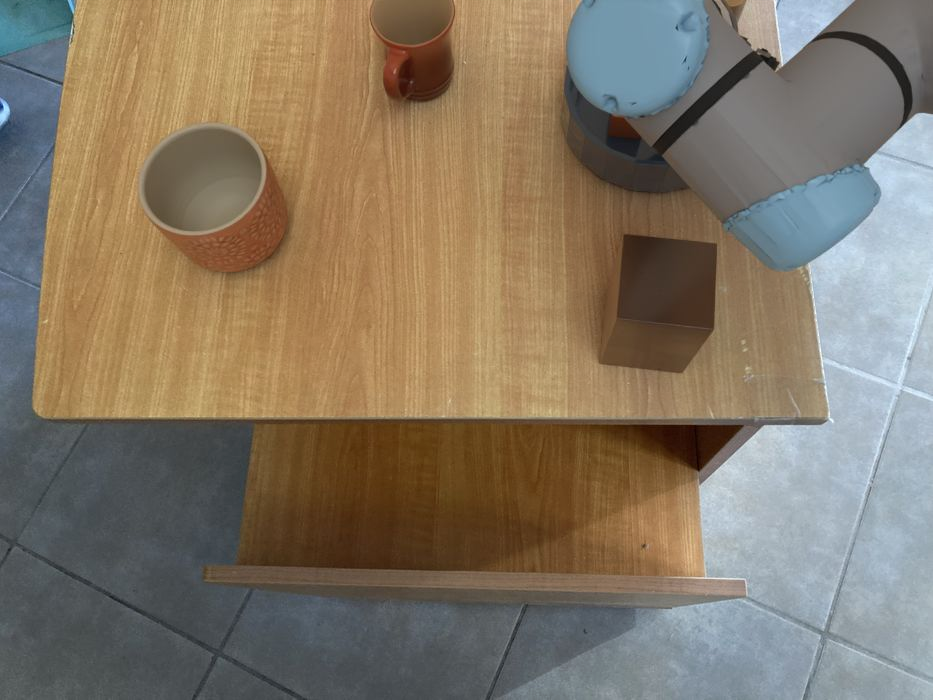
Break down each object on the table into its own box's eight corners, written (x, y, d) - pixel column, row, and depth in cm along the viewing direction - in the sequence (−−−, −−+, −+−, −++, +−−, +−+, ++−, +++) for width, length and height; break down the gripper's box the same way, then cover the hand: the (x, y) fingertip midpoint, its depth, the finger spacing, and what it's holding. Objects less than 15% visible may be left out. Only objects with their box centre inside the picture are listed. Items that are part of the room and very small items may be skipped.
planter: (172, 282, 80) (122, 233, 70) (194, 179, 84) (150, 118, 74) (288, 288, 79) (256, 239, 69) (305, 183, 83) (276, 122, 73)
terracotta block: (643, 112, 84) (648, 91, 80) (641, 139, 82) (646, 119, 79) (610, 109, 84) (615, 88, 81) (608, 136, 83) (612, 116, 79)
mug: (399, 39, 89) (387, -31, 79) (471, 57, 88) (466, -12, 78) (362, 123, 86) (344, 60, 76) (435, 143, 84) (427, 81, 75)
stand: (686, 298, 77) (717, 243, 66) (682, 373, 74) (714, 329, 63) (605, 289, 78) (623, 233, 66) (599, 363, 75) (616, 318, 64)
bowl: (740, 54, 86) (755, 18, 81) (735, 203, 80) (751, 174, 75) (569, 40, 88) (573, 4, 83) (552, 185, 82) (555, 156, 77)
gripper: (553, 49, 57) (626, 48, 76) (755, 144, 53) (776, 116, 73) (597, -59, 53) (661, -31, 73) (816, 35, 50) (821, 38, 69)
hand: (718, 43), depth 73 cm, fingers closed on pestle, 3 cm apart
